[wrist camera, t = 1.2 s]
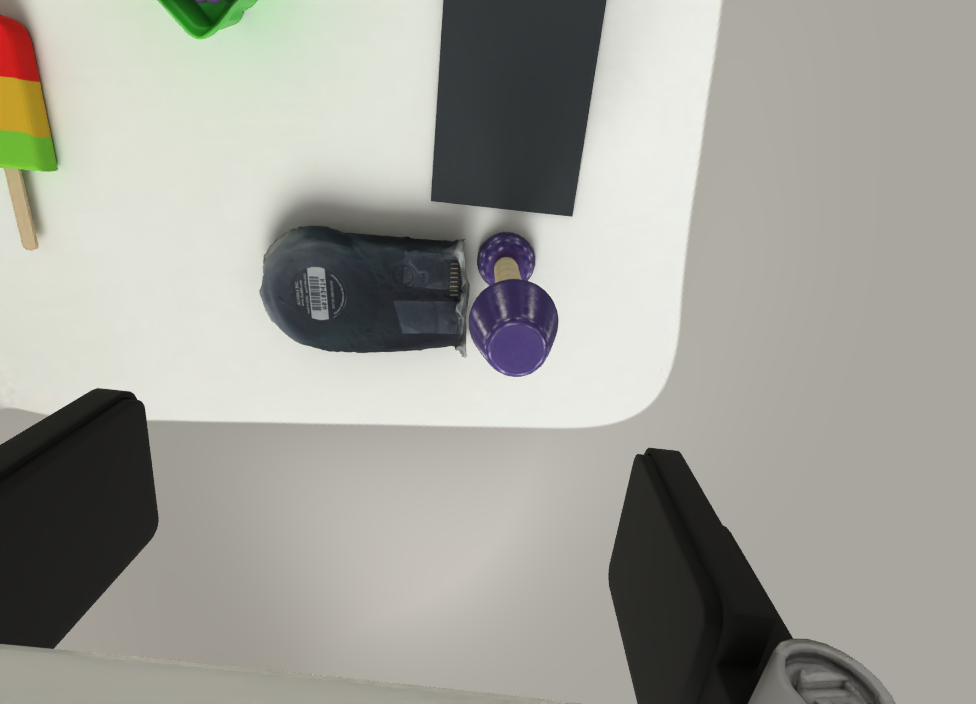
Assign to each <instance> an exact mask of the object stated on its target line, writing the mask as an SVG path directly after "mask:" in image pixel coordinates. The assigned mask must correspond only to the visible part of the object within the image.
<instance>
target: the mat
mask: <svg viewBox="0 0 976 704" xmlns="http://www.w3.org/2000/svg"><path fill="white" fill-rule="evenodd" d="M605 5H606V0H444V3H443V18H442V34H441V50H440V66H439V82H438V98H437V114H436V129H435V145H434V161H433V177H432V193H431V201H436V202H445V203H454V204H463V205H472V206H481V207H490V208H499V209H508V210H518V211H527V212H536V213H545V214H554V215H563V216H572V214H573V208H574V201H575V195H576V189H577V182H578V176H579V170H580V163H581V157H582V151H583V144H584V138H585V132H586V126H587V119H588V113H589V107H590V100H591V94H592V88H593V81H594V75H595V69H596V62H597V56H598V50H599V43H600V37H601V31H602V24H603V18H604V12H605Z"/></svg>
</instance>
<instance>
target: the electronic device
mask: <svg viewBox="0 0 976 704" xmlns="http://www.w3.org/2000/svg"><path fill="white" fill-rule="evenodd" d="M464 240H465V239H463V240H455V241H446V240H428V239H414V238H410V237H391V236H378V235H367V234H355V233H342V232H340V231H338V230H335V229H332V228H329V227H324V226H307V227H299V228H297V229H292V230H290V231H289V232H286V233H285V234H283V235H282V236H281V237H280V238H279V239H277V240H276V241H275V242H274V243H273V244H272V245H271V246H270V248H269V249H268V251H267V253H266V254H265V255H264V266H263V273H264V275H263V281H262V286H261V289H260V295H261V298H262V301H263V304H264V307H265V309H266V312H267V313H268V315H269V317H270V319H271V321H272V322H274V323H275V324H276V325H277V326H278V327H279V328H280V329H281V330H282V331H283V332H284V333H285V334H286V335H288V336H289V337H290V338H292V339H293V340H294V341H296V342H298V343H300V344H303V345H307V346H312V347H315V348H319V349H322V350H326V351H335V352H340V351H343V352H357V353H368V352H396V351H412V350H423V349H428V348H440V347H447V346H455V349H456V350H459V351H460V353H461V354H462V357H464V358H466V357H467V354H466V311H467V305H468V298H469V287H470V285H469V282H468V279H467V276H466V266H465V257H464V252H463V251H462V249H463V246H464Z"/></svg>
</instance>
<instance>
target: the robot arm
mask: <svg viewBox="0 0 976 704" xmlns="http://www.w3.org/2000/svg"><path fill="white" fill-rule="evenodd" d="M157 527H158V510H157V502H156V494H155V486H154V478H153V470H152V461H151V453H150V446H149V437H148V429H147V421H146V413H145V407H144V404H143V403H142V402H141V401H140V400H137V398H136V397H135V395H134V394H133V393H131V392H128V391H119V390H110V389H100V388H97V389H94V390H92V391H90V392H88V393H87V394H85V395H83V396H82V397H80V398H78V399H77V400H75V401H73V402H72V403H70V404H68V405H67V406H65V407H63V408H61V409H60V410H58V411H56V412H55V413H53V414H51V415H50V416H48V417H46V418H45V419H43V420H42V421H40V422H38V423H36V424H35V425H33V426H31V427H30V428H28V429H26V430H25V431H23V432H21V433H20V434H18V435H16V436H15V437H13V438H12V439H10V440H8V441H6V442H5V443H3V444H1V445H0V704H579V703H569V702H561V701H552V700H544V699H536V698H528V697H519V696H509V695H500V694H491V693H481V692H471V691H462V690H453V689H444V688H435V687H426V686H416V685H407V684H398V683H389V682H388V683H387V682H379V681H370V680H361V679H351V678H341V677H331V676H322V675H312V674H302V673H291V672H282V671H272V670H262V669H253V668H243V667H233V666H223V665H213V664H203V663H193V662H182V661H173V660H162V659H153V658H143V657H132V656H122V655H110V654H101V653H90V652H80V651H69V650H59V649H54V648H55V647H56V646H57V644H58V643H59V642H60V641H61V640H62V639H63V638H64V637H65V636H66V634H67V633H68V632H69V631H70V630H71V629H72V628H73V627H74V625H75V624H76V623H77V622H78V621H79V620H80V619H81V617H82V616H83V615H84V614H85V613H86V612H87V611H88V610H89V608H90V607H91V606H92V605H93V604H94V603H95V602H96V601H97V599H99V597H100V596H101V595H102V594H103V593H104V592H105V591H106V589H107V588H108V587H109V586H110V585H111V584H112V583H113V581H115V579H116V578H117V577H118V576H119V575H120V574H121V573H122V572H123V570H124V569H125V568H126V567H127V566H128V565H129V564H130V562H131V561H132V560H133V559H134V558H135V557H136V556H137V555H138V553H140V551H141V550H142V549H143V548H144V547H145V546H146V545H147V544H148V542H149V541H150V540H151V539H152V537H153V536H154V534H155V532H156V530H157ZM609 587H610V591H611V595H612V600H613V604H614V607H615V612H616V616H617V620H618V625H619V629H620V633H621V637H622V641H623V645H624V649H625V654H626V658H627V662H628V666H629V670H630V674H631V678H632V682H633V686H634V691H635V695H636V699H637V703H638V704H895V702H894V700H893V698H892V696H891V694H890V693H889V692H888V691H887V689H886V688H885V687H884V685H883V684H882V683H881V681H880V680H879V679H878V678H877V677H876V676H875V675H873V674H872V673H871V672H870V671H869V670H868V669H867V668H866V667H864V666H863V665H862V664H861V663H859V662H858V661H856V660H855V659H853V658H852V657H850V656H849V655H847V654H846V653H844V652H842V651H840V650H838V649H836V648H833V647H831V646H829V645H827V644H824V643H820V642H817V641H813V640H809V639H793V638H792V636H791V634H790V633H789V631H788V629H787V627H786V626H785V624H784V622H783V621H782V619H781V617H780V616H779V614H778V612H777V611H776V609H775V607H774V605H773V604H772V602H771V600H770V599H769V597H768V595H767V594H766V592H765V590H764V588H763V587H762V585H761V583H760V582H759V580H758V578H757V577H756V575H755V573H754V571H753V570H752V568H751V566H750V565H749V563H748V561H747V560H746V558H745V556H744V555H743V553H742V551H741V549H740V548H739V546H738V544H737V542H736V541H735V539H734V538H733V536H732V534H731V532H729V530H728V529H727V527H725V526H723V525H722V524H721V522H720V520H719V518H718V517H717V515H716V513H715V511H714V510H713V508H712V506H711V505H710V503H709V501H708V499H707V498H706V496H705V494H704V493H703V491H702V489H701V487H700V486H699V484H698V482H697V480H696V479H695V477H694V475H693V473H692V472H691V470H690V468H689V466H688V465H687V463H686V461H685V459H684V458H683V456H682V454H681V453H680V452H679V451H673V450H665V449H655V448H648V449H647V450H646V452H645V453H644V455H641V454H637V455H636V457H635V459H634V462H633V466H632V470H631V475H630V479H629V484H628V488H627V492H626V496H625V501H624V505H623V509H622V513H621V518H620V522H619V527H618V531H617V535H616V539H615V544H614V548H613V552H612V556H611V561H610V565H609Z"/></svg>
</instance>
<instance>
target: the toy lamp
mask: <svg viewBox="0 0 976 704" xmlns="http://www.w3.org/2000/svg"><path fill="white" fill-rule="evenodd" d="M477 265H478V270H479V272H480V275H481V276H482V278H483V279H484V281H485V282H486V283H488V284H489V285H490V286H489V287H487V288H486V289H484V290H483V291H482V292H481V293H480V295H479V296H478V297H477V298H476V300H475V302H474V303H473V305H472V308H471V311H470V315H469V330H470V334H471V338H472V340H473V342H474V344H475V345H476V347H477V348H478V350H479V351H480V353H481V354H482V355H483V357H484V358H485V359H486V360H487V362H488V363H489V364H490V365H491V366H492V367H493V368H494V369H495V370H497V371H498V372H500V373H502V374H504V375H507V376H513V377H520V376H525V375H528V374H531V373H533V372H534V371H536V370H537V369H538V368H539V367H541V365H542V364H543V363H544V362H545V360H546V358H547V357H548V354H549V352H550V350H551V347H552V345H553V342H554V340H555V337H556V334H557V329H558V314H557V309H556V307H555V304H554V302H553V300H552V299H551V297H550V296H549V295H548V294H547V292H546V291H544V290H543V289H542V288H541V287H539V286H538V285H536V284H534V283H532V282H529V281H528V279H529V278H530V277H531V275H532V273H533V270H534V266H535V255H534V252H533V249H532V247H531V246H530V244H529V243H528V242H527V241H526V240H525V239H524V238H523V237H521V236H519V235H517V234H514V233H509V232H507V233H506V232H502V233H498V234H496V235H494V236H492V237H490V238H489V239H488V240H487V241H486V242H485V243H484V244H483V245H482V247H481V248H480V250H479V253H478V258H477Z"/></svg>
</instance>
